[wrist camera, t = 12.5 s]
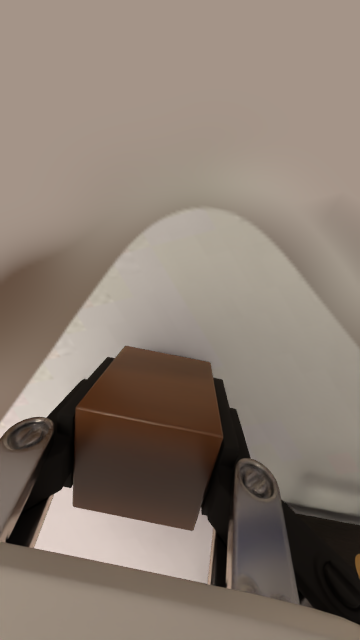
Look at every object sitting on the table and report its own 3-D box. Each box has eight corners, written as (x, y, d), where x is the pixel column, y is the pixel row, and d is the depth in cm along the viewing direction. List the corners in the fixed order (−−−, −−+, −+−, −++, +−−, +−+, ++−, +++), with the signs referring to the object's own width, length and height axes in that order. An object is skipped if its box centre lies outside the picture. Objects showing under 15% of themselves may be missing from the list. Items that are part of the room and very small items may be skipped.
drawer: (276, 456, 16) (331, 578, 10) (427, 484, 16) (578, 623, 10) (217, 598, 21) (228, 732, 15) (329, 618, 21) (386, 760, 15)
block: (124, 344, 10) (73, 407, 6) (210, 361, 10) (224, 437, 6) (117, 414, 11) (71, 507, 7) (193, 429, 11) (193, 532, 7)
